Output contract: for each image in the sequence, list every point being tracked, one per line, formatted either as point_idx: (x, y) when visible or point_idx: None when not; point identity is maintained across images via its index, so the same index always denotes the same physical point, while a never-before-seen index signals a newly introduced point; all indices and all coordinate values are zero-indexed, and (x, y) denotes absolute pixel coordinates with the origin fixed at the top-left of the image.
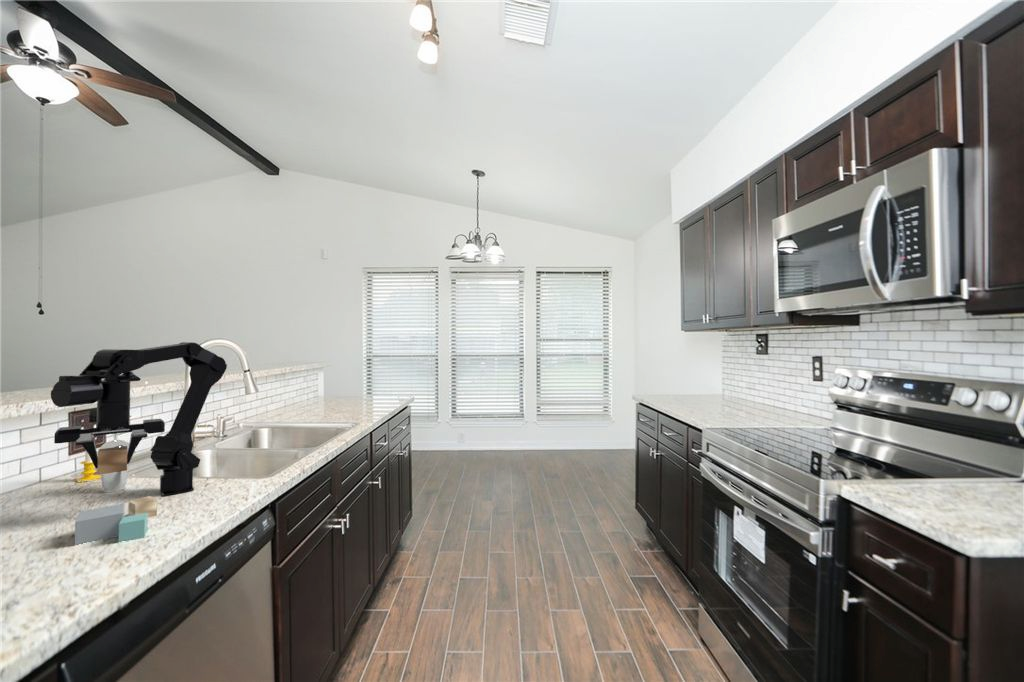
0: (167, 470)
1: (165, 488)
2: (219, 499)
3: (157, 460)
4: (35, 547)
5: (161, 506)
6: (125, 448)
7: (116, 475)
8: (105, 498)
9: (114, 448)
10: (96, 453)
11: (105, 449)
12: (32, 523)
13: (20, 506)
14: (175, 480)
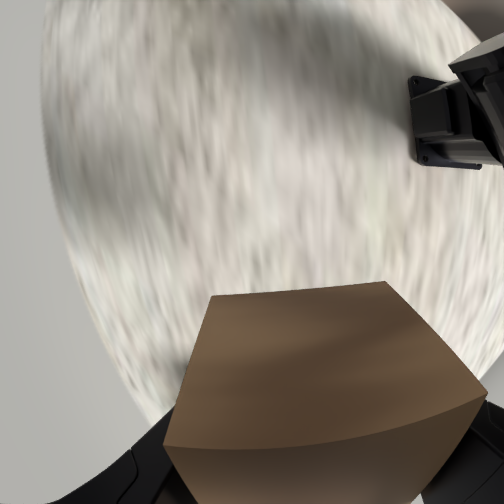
0: (479, 117)
1: (433, 142)
2: (490, 303)
3: (501, 131)
4: (161, 393)
5: (401, 275)
6: (417, 487)
7: None
8: (241, 39)
9: (351, 479)
10: (196, 502)
11: (258, 487)
12: (89, 203)
13: (57, 25)
14: (473, 160)
